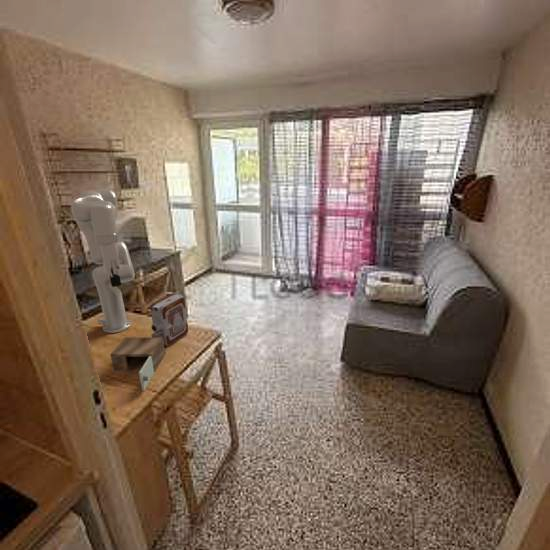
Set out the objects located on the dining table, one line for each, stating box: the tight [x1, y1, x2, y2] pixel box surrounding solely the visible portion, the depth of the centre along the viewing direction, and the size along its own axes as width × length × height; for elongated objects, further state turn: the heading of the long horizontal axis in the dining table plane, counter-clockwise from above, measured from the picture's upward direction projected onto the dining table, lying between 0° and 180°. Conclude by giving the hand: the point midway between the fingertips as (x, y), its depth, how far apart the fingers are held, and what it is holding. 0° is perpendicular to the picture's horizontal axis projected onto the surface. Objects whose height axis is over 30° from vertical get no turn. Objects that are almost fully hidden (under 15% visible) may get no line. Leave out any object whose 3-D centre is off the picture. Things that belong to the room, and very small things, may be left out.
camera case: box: [110, 336, 166, 373], centre depth 131 cm, size 16×12×8 cm
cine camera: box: [149, 293, 189, 347], centre depth 144 cm, size 9×19×20 cm, turn 152°
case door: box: [138, 356, 155, 391], centre depth 120 cm, size 10×2×8 cm, turn 0°
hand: (116, 285), depth 126 cm, fingers closed
